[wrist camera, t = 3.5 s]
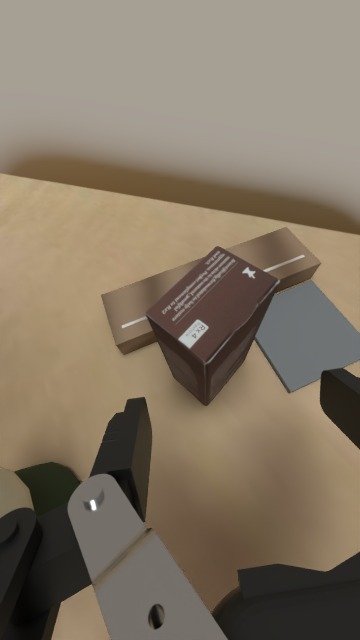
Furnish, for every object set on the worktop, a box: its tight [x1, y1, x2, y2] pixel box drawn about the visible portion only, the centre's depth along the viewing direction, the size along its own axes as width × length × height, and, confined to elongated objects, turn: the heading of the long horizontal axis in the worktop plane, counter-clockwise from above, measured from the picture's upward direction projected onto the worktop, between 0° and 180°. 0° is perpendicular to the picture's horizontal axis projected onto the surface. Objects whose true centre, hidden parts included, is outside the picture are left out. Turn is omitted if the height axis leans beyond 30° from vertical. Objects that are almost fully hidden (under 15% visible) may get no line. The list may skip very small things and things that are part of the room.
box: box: [145, 246, 280, 406], centre depth 17 cm, size 6×4×12 cm
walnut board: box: [101, 227, 321, 354], centre depth 25 cm, size 22×6×3 cm, turn 113°
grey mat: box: [254, 280, 360, 393], centre depth 23 cm, size 9×9×1 cm
